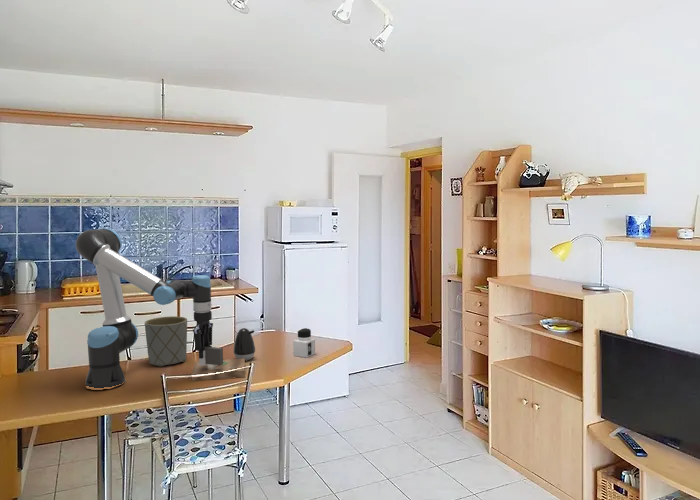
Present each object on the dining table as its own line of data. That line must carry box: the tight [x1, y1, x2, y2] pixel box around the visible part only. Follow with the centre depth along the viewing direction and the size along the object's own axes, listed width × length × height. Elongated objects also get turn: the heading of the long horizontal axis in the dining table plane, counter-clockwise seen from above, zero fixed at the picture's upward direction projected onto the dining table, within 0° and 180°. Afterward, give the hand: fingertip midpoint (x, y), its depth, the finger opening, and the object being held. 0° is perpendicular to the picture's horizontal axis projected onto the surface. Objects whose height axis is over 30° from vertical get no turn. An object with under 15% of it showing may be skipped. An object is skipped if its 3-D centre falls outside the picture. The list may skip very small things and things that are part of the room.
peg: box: [204, 346, 224, 370], centre depth 236 cm, size 12×10×10 cm
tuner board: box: [191, 358, 246, 382], centre depth 237 cm, size 22×18×3 cm
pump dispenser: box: [233, 327, 256, 362], centre depth 256 cm, size 10×10×15 cm
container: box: [293, 327, 316, 359], centre depth 263 cm, size 8×8×13 cm
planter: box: [144, 315, 188, 368], centre depth 253 cm, size 19×19×20 cm
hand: (204, 363), depth 233 cm, fingers open, 3 cm apart
